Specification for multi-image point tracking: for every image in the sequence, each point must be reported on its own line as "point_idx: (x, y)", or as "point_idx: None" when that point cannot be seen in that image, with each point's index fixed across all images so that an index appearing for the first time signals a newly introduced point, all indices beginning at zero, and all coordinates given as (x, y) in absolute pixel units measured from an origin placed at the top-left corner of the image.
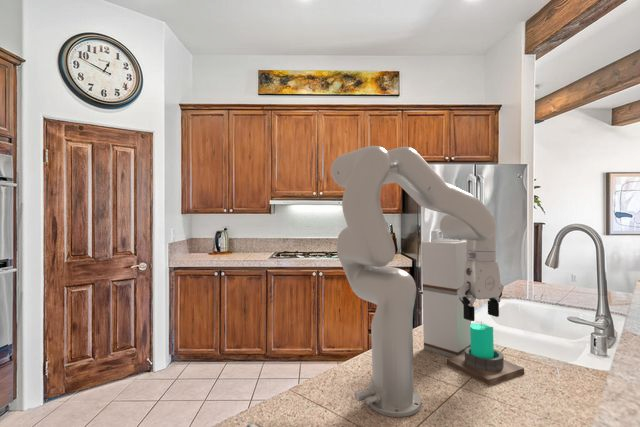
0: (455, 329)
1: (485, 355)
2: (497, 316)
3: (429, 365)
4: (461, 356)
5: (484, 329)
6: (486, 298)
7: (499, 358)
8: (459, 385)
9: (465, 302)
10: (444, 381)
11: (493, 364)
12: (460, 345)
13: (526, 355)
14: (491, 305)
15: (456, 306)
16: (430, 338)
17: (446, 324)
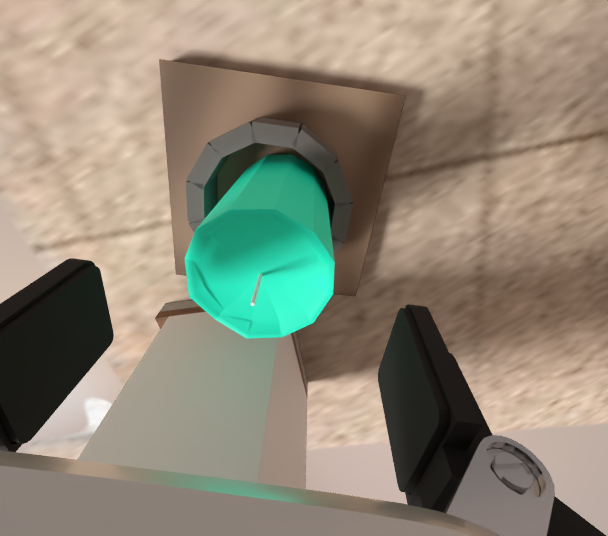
0: (275, 374)
1: (312, 179)
2: (90, 261)
3: None
4: None
5: (310, 232)
6: (252, 487)
7: (264, 129)
8: (476, 167)
9: (591, 531)
10: (482, 216)
11: (310, 133)
12: None
13: (4, 158)
14: (39, 379)
15: None
16: (302, 399)
17: (284, 417)
